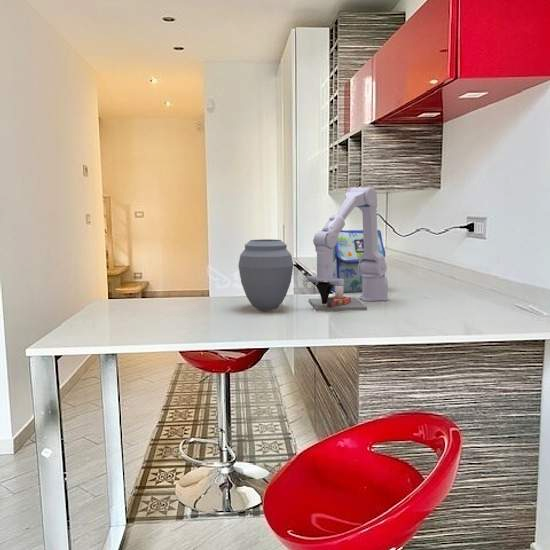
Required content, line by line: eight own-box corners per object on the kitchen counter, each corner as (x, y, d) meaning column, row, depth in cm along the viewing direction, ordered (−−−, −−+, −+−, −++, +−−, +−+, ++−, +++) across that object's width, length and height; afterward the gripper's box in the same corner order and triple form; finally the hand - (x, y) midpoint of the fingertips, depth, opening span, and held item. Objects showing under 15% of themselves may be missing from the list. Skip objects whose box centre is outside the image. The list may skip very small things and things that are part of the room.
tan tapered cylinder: (341, 305, 191) (341, 299, 191) (342, 306, 189) (342, 300, 189) (336, 305, 191) (337, 299, 191) (337, 306, 189) (337, 300, 189)
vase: (301, 305, 196) (301, 239, 193) (279, 315, 178) (279, 242, 175) (254, 302, 204) (253, 238, 201) (228, 311, 186) (227, 241, 183)
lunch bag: (338, 294, 220) (338, 231, 217) (325, 288, 236) (325, 229, 233) (387, 292, 225) (389, 230, 222) (371, 286, 241) (372, 228, 238)
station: (354, 300, 206) (355, 282, 205) (366, 309, 187) (367, 290, 186) (308, 301, 205) (308, 283, 204) (316, 310, 186) (316, 291, 185)
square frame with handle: (333, 299, 200) (333, 292, 200) (350, 301, 197) (351, 293, 197) (320, 306, 188) (320, 297, 188) (338, 307, 185) (338, 299, 185)
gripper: (301, 265, 188) (301, 303, 190) (336, 267, 179) (336, 307, 181) (312, 263, 194) (312, 300, 196) (347, 266, 185) (347, 304, 187)
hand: (324, 303), depth 189 cm, fingers closed
